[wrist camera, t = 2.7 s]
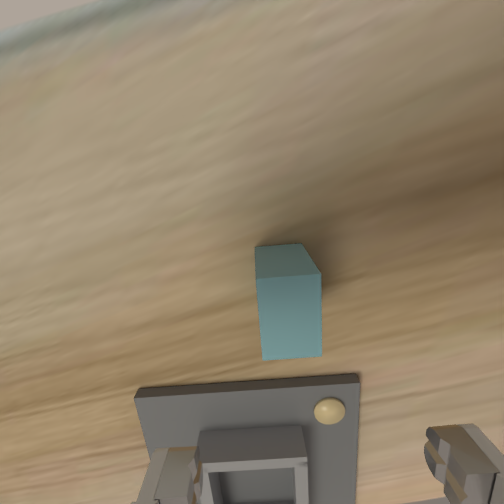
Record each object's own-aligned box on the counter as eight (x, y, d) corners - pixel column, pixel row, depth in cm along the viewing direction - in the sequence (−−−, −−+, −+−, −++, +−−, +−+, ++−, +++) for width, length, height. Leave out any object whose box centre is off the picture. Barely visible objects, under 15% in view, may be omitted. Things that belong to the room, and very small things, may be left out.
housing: (355, 373, 27) (374, 411, 23) (350, 518, 34) (364, 568, 30) (138, 388, 28) (118, 428, 24) (174, 528, 34) (164, 579, 30)
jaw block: (301, 243, 23) (321, 273, 17) (303, 305, 25) (321, 356, 18) (254, 246, 23) (255, 278, 17) (259, 309, 25) (262, 360, 18)
